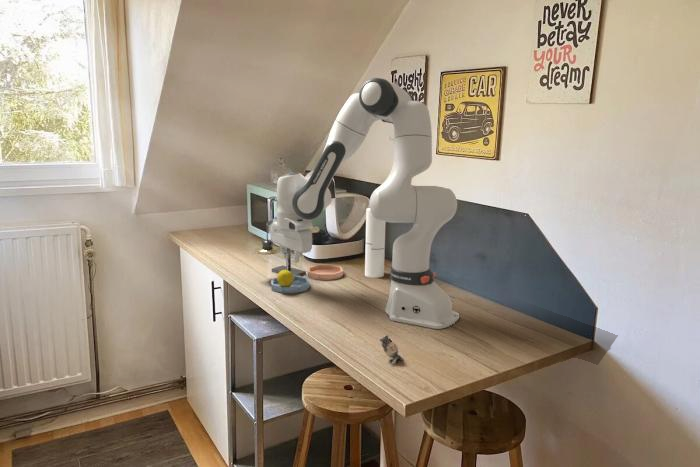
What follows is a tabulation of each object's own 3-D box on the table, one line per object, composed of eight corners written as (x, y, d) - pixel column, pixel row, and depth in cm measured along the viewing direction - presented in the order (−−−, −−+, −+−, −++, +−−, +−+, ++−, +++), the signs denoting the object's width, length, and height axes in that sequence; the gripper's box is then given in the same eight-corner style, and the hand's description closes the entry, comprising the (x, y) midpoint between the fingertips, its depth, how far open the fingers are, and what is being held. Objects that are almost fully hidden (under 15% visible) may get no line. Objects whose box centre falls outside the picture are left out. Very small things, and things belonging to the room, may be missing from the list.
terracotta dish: (349, 274, 205) (349, 268, 204) (327, 282, 194) (327, 276, 194) (322, 267, 212) (323, 262, 212) (300, 275, 202) (300, 269, 202)
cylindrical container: (371, 271, 209) (373, 206, 204) (387, 274, 205) (389, 209, 200) (361, 275, 204) (362, 209, 198) (377, 278, 200) (379, 211, 194)
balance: (303, 261, 220) (303, 200, 215) (326, 267, 213) (327, 204, 208) (247, 279, 196) (245, 211, 191) (270, 286, 189) (269, 215, 184)
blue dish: (316, 286, 190) (316, 280, 189) (291, 296, 180) (290, 289, 179) (289, 279, 197) (289, 273, 197) (263, 288, 187) (263, 281, 187)
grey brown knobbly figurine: (373, 359, 135) (375, 336, 134) (387, 354, 139) (388, 331, 138) (390, 366, 132) (392, 342, 131) (404, 360, 136) (405, 337, 135)
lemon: (280, 291, 186) (275, 283, 178) (278, 276, 188) (274, 267, 181) (296, 289, 186) (292, 280, 178) (294, 274, 188) (291, 265, 181)
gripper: (265, 216, 189) (266, 255, 192) (299, 227, 174) (299, 268, 177) (280, 214, 193) (281, 252, 196) (315, 224, 178) (315, 265, 181)
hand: (290, 260), depth 187 cm, fingers open, 5 cm apart
